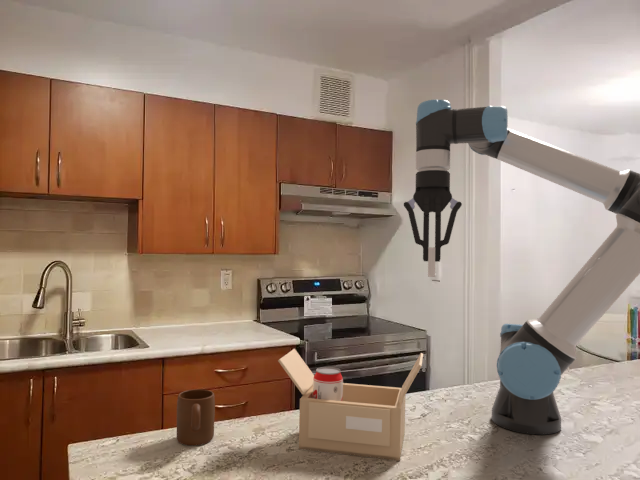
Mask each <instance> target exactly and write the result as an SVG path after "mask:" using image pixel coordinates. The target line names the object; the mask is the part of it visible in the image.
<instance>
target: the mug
mask: <svg viewBox="0 0 640 480" xmlns="http://www.w3.org/2000/svg"><path fill="white" fill-rule="evenodd" d="M215 401H216V400H215V393H214V392H213V391H212V390H209V389H202V388H201V389H199V388H198V389H197V388H196V389H188V390H184V391H181V392H179V394H178V395H177V401H176V440H177V442H178V443H179V444H181V445H184V446H188V447H189V446H191V447H193V446H201V445H205V444H208V443H209V442H211V441H212V440H213V439H214V436H215V435H214V434H215V415H216V413H215V409H216V408H215V406H216V405H215V404H216V402H215Z"/></svg>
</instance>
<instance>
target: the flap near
mask: <svg viewBox="0 0 640 480" xmlns="http://www.w3.org/2000/svg"><path fill="white" fill-rule="evenodd" d="M423 357H424V353H422V352H420V353H419V356H418V357H417V359H416V361H415V362H414V365H413V367H412V369H411V370H410V372H409V373H408V376H407V377H406V379H405V381H404V382H403V384H402V386H401V388H402V389H401V393H400V397H399V401H398V402H399V403H401V402H402V400H403V398H404V396H405V397H406V394H407V392H408V391H409V389H410V388H411V386H412V383H413V382H414V380H415V378H416V377H417V375H418V373H419V371H420V370H421V367H422V366H423V359H424V358H423Z"/></svg>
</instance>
